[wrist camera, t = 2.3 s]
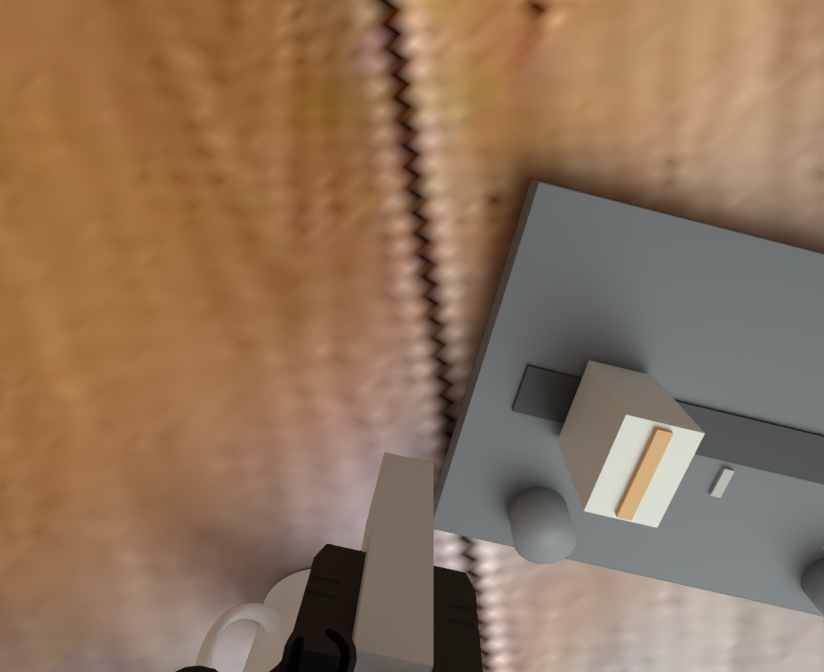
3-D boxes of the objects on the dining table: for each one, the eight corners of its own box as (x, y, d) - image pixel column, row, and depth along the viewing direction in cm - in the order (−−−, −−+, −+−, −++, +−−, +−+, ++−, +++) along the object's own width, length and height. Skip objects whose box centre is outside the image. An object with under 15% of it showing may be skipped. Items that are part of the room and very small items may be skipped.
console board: (531, 178, 23) (548, 186, 20) (1073, 316, 25) (1188, 349, 21) (431, 503, 30) (430, 556, 26) (866, 602, 31) (925, 666, 27)
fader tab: (589, 360, 24) (627, 417, 19) (652, 375, 24) (707, 436, 19) (556, 442, 25) (585, 514, 21) (616, 456, 26) (658, 531, 21)
